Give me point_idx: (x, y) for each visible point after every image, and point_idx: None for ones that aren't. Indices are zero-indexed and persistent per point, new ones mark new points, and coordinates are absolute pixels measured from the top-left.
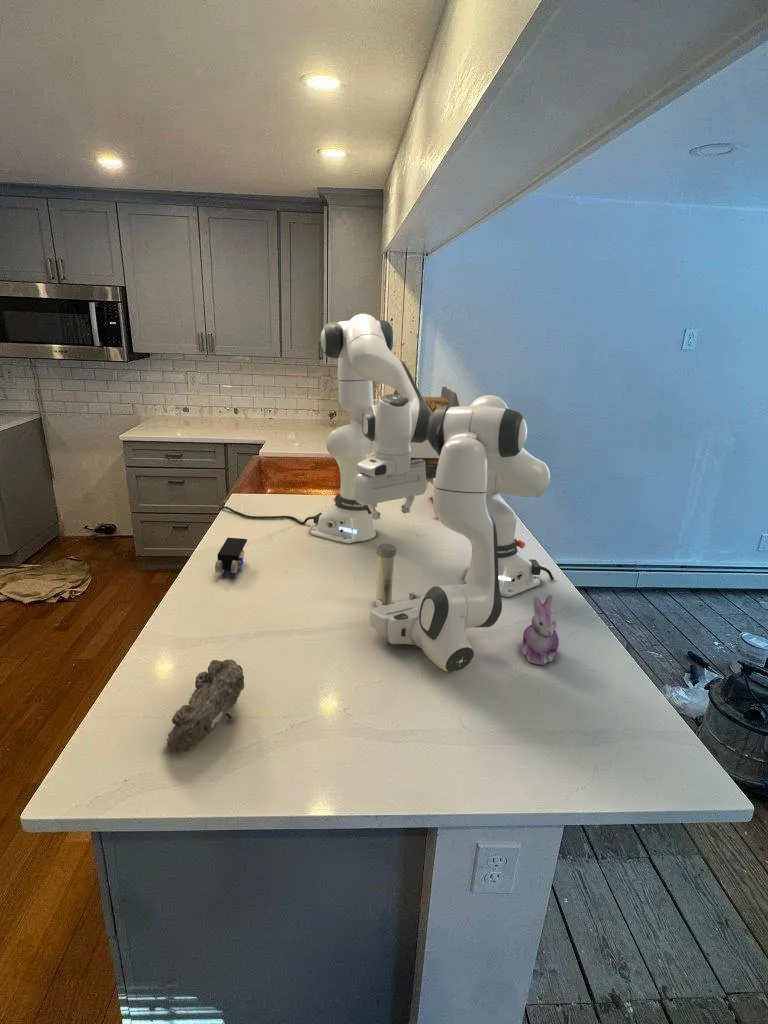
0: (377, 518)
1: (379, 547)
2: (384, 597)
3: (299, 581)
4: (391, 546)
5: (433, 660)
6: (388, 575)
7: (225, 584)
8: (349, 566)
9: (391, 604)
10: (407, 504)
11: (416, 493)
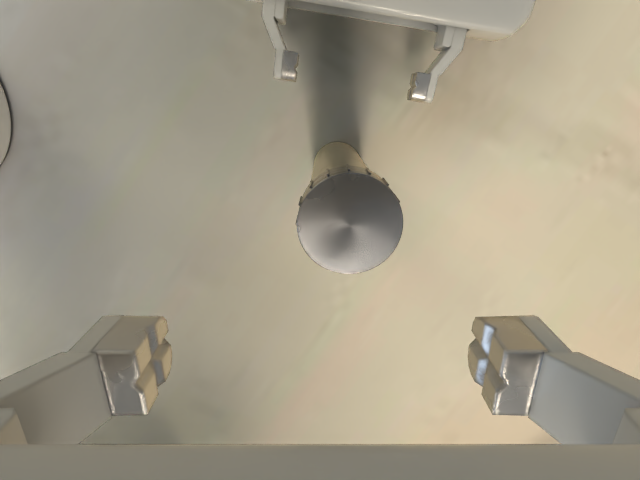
0: (513, 316)
1: (387, 237)
2: (353, 150)
3: (452, 387)
4: (322, 216)
5: None
6: (350, 158)
7: None
8: (288, 396)
9: (433, 10)
10: (84, 388)
11: None
